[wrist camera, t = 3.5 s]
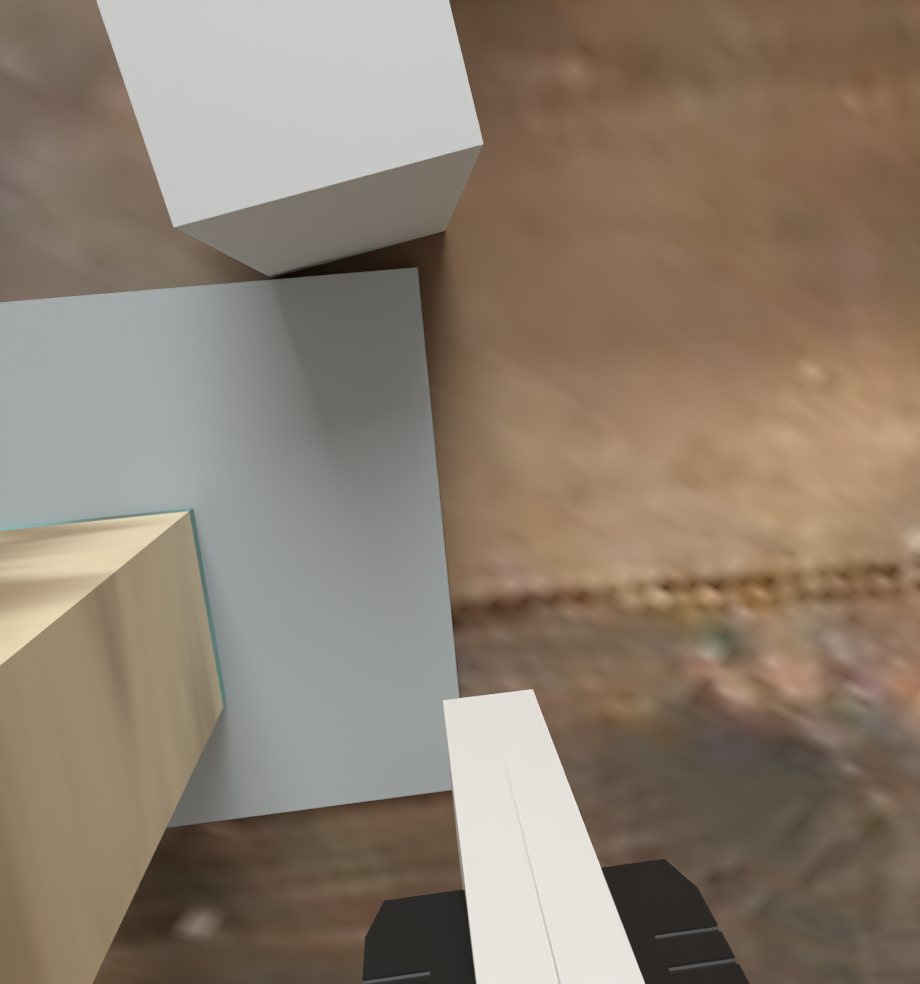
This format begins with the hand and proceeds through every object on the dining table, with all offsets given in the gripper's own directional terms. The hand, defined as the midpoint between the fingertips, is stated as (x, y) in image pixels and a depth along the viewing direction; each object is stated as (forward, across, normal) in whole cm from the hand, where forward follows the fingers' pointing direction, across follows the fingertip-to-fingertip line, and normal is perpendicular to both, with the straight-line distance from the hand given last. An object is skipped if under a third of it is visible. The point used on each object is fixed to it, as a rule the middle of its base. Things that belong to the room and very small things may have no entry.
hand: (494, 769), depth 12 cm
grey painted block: (+10, -2, +12) cm, 16 cm away
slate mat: (+10, -12, +1) cm, 16 cm away
